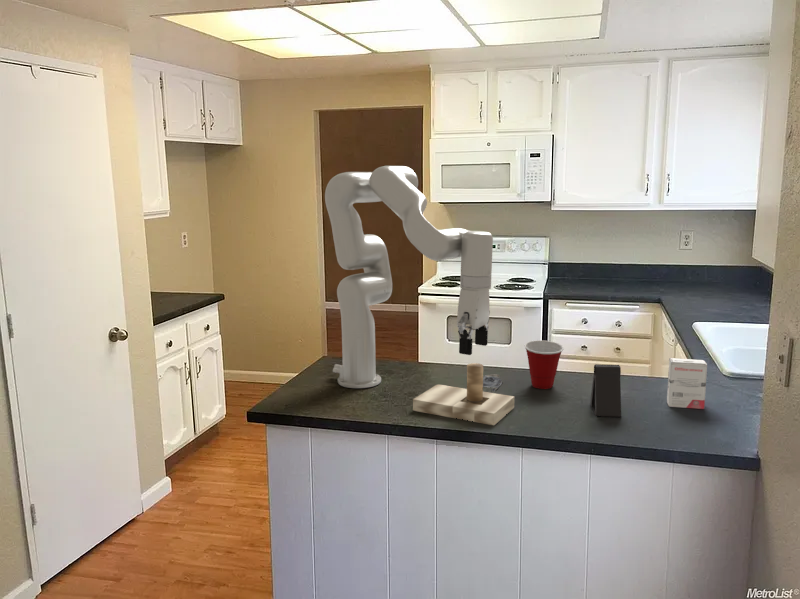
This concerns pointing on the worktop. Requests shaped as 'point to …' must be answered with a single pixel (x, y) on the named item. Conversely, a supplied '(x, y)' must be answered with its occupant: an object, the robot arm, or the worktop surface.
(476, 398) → the peg
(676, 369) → the ink box
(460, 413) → the board
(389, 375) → the worktop surface
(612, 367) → the phone stand
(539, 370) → the plastic cup
